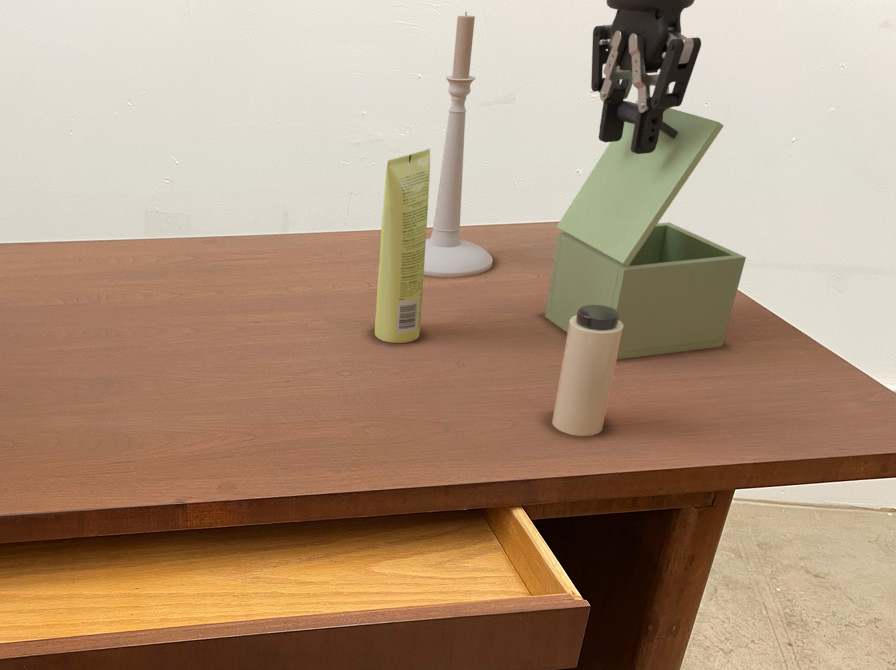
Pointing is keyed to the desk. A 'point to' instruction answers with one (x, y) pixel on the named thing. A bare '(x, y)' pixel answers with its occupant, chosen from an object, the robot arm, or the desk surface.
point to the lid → (637, 183)
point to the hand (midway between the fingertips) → (625, 145)
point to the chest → (651, 290)
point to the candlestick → (455, 176)
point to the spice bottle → (587, 370)
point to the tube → (403, 248)
